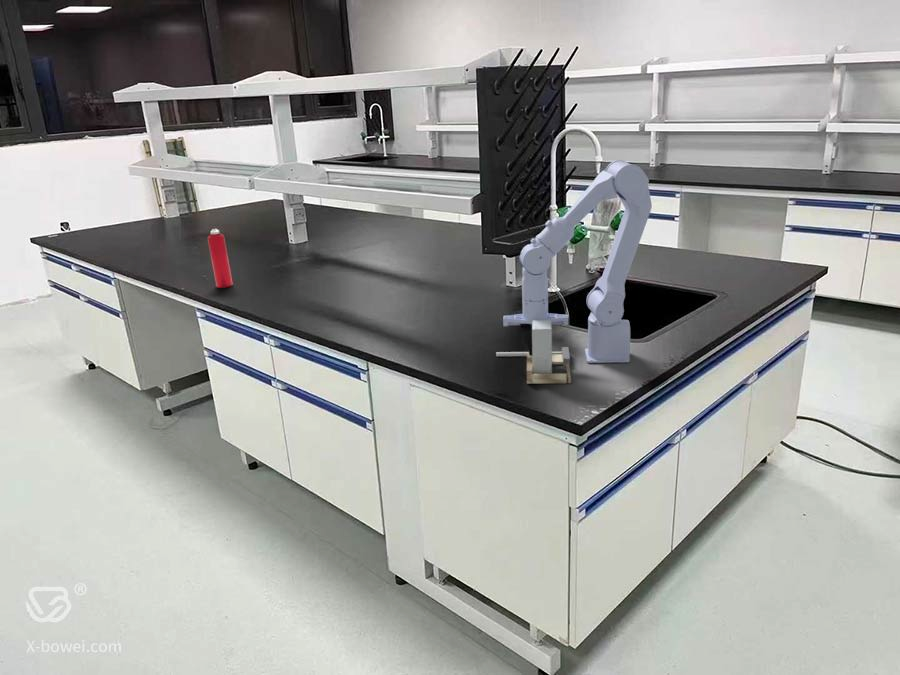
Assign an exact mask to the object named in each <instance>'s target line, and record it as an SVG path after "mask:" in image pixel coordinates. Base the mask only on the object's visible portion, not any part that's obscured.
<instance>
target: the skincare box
mask: <svg viewBox="0 0 900 675" xmlns="http://www.w3.org/2000/svg"><path fill="white" fill-rule="evenodd" d="M531 340H532V373H533V374H553V364H552V352H553V327H552V324H551V320H533V321H532V325H531Z"/></svg>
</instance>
